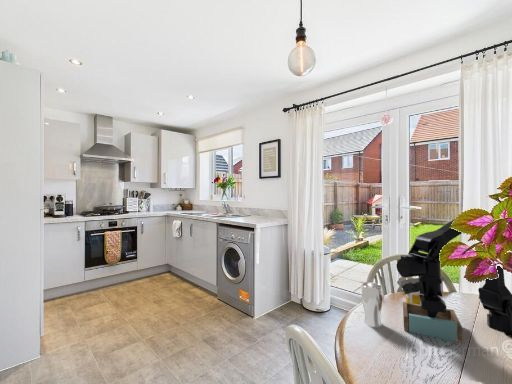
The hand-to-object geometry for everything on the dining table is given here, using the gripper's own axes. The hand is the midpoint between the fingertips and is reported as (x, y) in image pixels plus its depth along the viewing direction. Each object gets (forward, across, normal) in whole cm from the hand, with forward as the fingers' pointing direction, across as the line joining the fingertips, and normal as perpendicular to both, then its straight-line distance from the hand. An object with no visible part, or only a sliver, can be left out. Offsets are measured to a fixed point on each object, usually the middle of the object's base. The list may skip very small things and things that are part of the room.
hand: (431, 320), depth 84 cm
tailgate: (+6, -1, 0) cm, 6 cm away
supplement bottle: (+8, -25, -4) cm, 26 cm away
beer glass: (+7, 0, -18) cm, 19 cm away
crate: (+7, -7, 0) cm, 10 cm away
